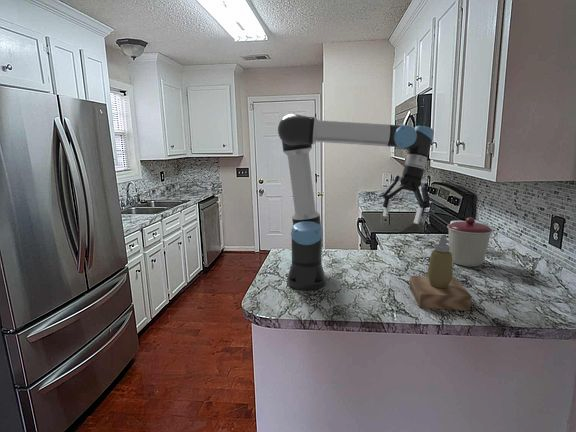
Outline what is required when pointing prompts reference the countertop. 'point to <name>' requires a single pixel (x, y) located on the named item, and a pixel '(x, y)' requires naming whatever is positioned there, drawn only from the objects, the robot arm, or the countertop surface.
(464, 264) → the canister
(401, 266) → the countertop surface
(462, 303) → the walnut plinth
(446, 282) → the squeeze bottle
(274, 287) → the countertop surface
